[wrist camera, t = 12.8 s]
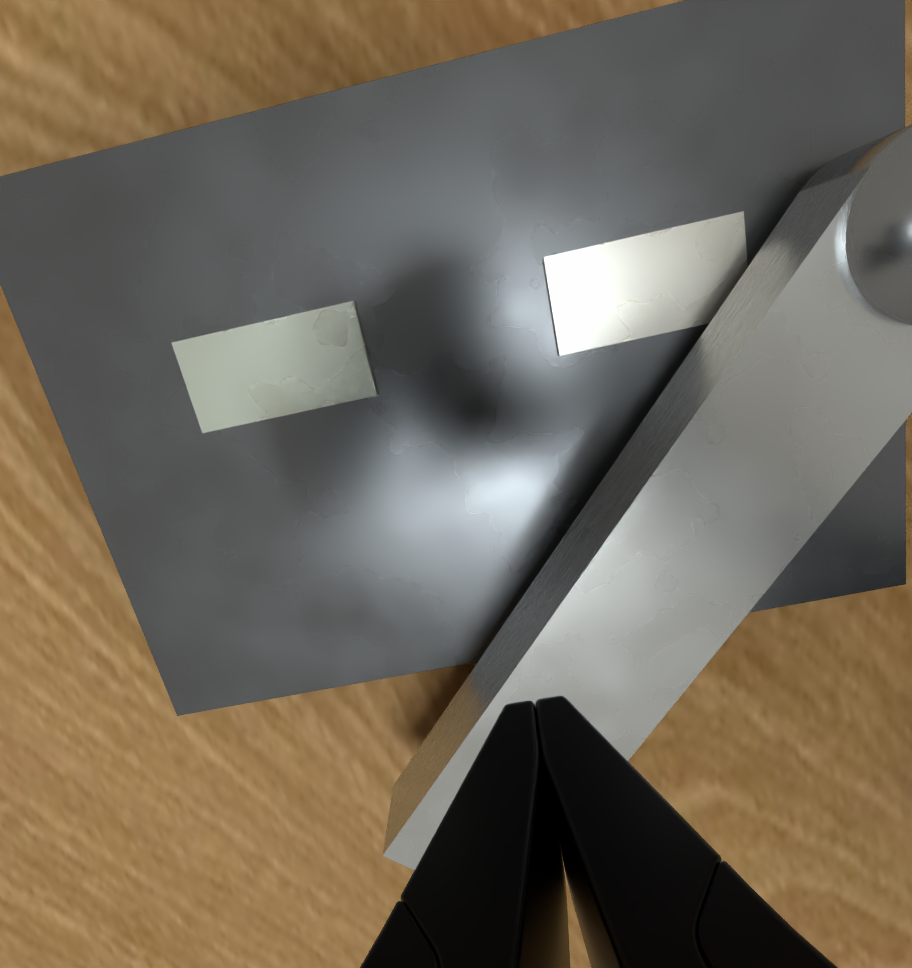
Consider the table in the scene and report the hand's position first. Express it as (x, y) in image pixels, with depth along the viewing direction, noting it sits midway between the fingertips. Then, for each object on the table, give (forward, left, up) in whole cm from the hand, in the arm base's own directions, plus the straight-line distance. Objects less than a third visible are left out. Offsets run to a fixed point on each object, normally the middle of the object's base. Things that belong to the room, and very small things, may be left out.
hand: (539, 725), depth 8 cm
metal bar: (-4, +1, -8) cm, 9 cm away
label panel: (0, -3, -10) cm, 11 cm away
